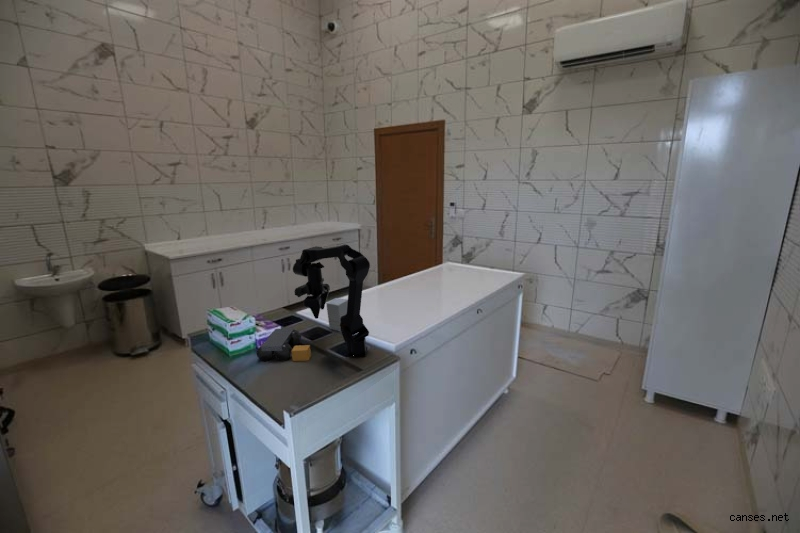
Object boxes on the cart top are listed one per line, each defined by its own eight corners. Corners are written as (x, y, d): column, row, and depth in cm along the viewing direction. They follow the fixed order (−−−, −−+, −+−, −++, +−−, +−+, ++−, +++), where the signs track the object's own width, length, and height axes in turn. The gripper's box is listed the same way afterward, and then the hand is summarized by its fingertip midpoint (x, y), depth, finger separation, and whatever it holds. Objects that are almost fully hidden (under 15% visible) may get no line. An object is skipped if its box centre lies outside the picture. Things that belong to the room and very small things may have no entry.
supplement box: (352, 325, 167) (349, 299, 164) (341, 331, 161) (338, 305, 158) (339, 322, 171) (336, 297, 168) (328, 328, 165) (325, 302, 162)
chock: (311, 355, 143) (309, 345, 142) (308, 360, 139) (306, 350, 138) (296, 355, 144) (294, 345, 142) (293, 361, 140) (291, 350, 138)
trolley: (302, 342, 154) (300, 328, 152) (290, 361, 140) (287, 345, 138) (272, 343, 155) (269, 329, 153) (257, 361, 141) (254, 346, 139)
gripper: (302, 272, 157) (307, 305, 161) (287, 286, 139) (293, 324, 143) (328, 270, 156) (332, 304, 160) (316, 285, 138) (321, 323, 143)
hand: (319, 313), depth 152 cm, fingers open, 9 cm apart
